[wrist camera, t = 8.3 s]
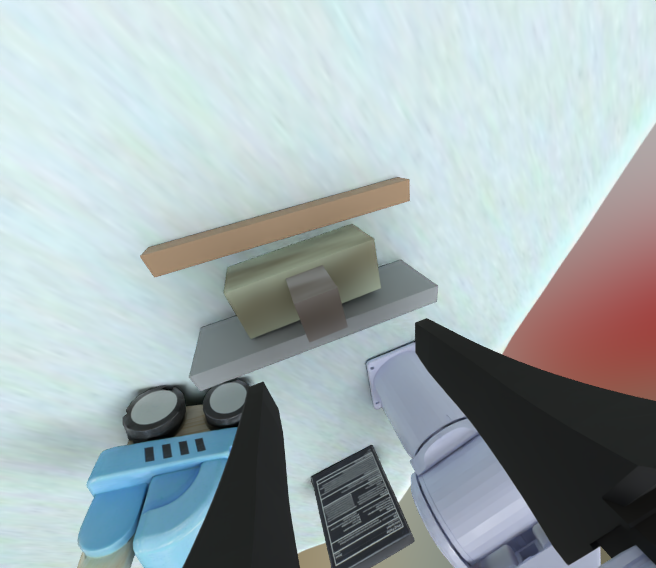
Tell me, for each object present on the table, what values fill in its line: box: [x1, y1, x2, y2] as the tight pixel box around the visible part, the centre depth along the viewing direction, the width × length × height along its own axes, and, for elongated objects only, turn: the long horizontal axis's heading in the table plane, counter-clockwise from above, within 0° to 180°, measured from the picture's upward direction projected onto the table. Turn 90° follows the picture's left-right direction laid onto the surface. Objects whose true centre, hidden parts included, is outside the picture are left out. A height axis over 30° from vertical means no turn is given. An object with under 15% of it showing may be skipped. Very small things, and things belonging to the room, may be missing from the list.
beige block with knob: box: [224, 224, 381, 343], centre depth 17 cm, size 4×10×7 cm, turn 104°
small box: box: [311, 445, 414, 568], centre depth 34 cm, size 11×6×10 cm, turn 108°
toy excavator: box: [77, 379, 249, 568], centre depth 15 cm, size 9×17×17 cm, turn 80°
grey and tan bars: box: [140, 177, 438, 391], centre depth 17 cm, size 9×18×5 cm, turn 102°
